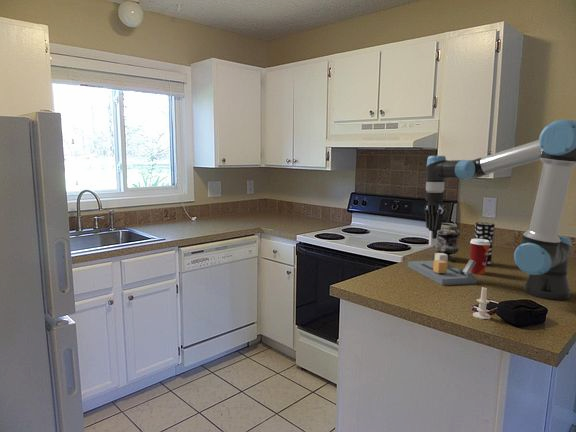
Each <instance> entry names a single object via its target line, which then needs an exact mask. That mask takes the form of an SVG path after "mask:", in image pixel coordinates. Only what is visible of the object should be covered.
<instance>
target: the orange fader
mask: <svg viewBox="0 0 576 432" xmlns="http://www.w3.org/2000/svg"><path fill="white" fill-rule="evenodd" d="M448 262H449V261H447V262H445V261H443V260H435V259H434V263H433V271H435V272H437V273H447V264H448Z"/></svg>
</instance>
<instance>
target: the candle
mask: <svg viewBox="0 0 576 432" xmlns="http://www.w3.org/2000/svg"><path fill="white" fill-rule="evenodd" d="M487 290H488V289H487V287H485V286H482V287H481V292H480V298H476V302H478V303H479V304H478V307H477V308H476V312H473V313H472V317H474V318H476V319H478V318H479V319H480V320H483V319H488V320H490V319H491V315H490V314H489V313H488V309H487V304H489V303H490V301H489V300H488V299H487ZM479 319H478V320H479Z"/></svg>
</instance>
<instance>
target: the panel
mask: <svg viewBox="0 0 576 432" xmlns="http://www.w3.org/2000/svg"><path fill="white" fill-rule="evenodd" d="M434 260H435V259H434ZM434 260H433V259H432V260H415V261H413V260H411V261H407V268H409V269H412V270H413V271H415V272H417V273H419V275H422V276H425V277H426V278H428V279H429V280H431V281H433V282H436V283H437V284H439V285H441V286H448V285H449V286H450V285H452V286H453V285H465V284H466V285H467V284H468V285H469V284H477V281H478V277H477V276H475V275H473V273H471V272H466V275H464V274H462V272H463V270H464V268H459V269H458V268H457V267H454V266H452V265H451V264H448V263H447V273H437V272H435V271H433V263H434Z"/></svg>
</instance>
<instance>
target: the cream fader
mask: <svg viewBox="0 0 576 432" xmlns="http://www.w3.org/2000/svg"><path fill="white" fill-rule="evenodd" d="M434 260H443V261H445V262H448V261H447V260H448V255H447V254H444V253H439V252H437V253H436V252H435V253H434Z"/></svg>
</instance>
